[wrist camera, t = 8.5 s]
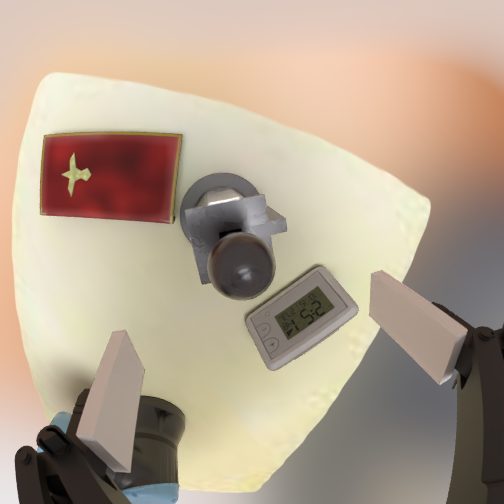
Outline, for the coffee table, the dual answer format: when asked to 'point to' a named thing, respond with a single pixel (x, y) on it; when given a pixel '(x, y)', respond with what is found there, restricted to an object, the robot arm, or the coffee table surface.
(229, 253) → the ball knob lever
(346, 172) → the coffee table surface
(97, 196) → the hardcover book
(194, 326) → the coffee table surface
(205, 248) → the grey blocky piece
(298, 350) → the digital clock
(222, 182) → the trivet
